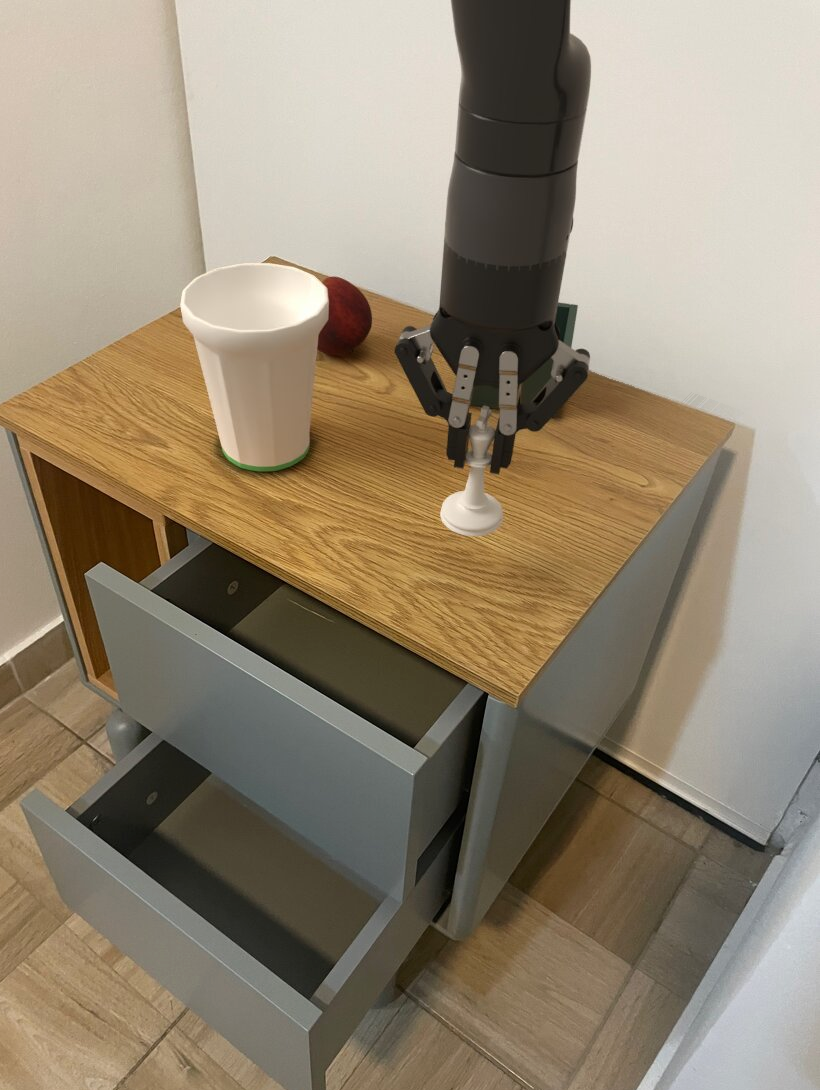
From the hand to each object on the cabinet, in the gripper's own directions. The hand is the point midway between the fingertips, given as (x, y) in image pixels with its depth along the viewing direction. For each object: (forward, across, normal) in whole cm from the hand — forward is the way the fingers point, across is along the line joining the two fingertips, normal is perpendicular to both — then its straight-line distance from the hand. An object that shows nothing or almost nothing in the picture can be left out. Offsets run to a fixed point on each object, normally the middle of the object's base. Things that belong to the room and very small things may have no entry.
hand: (478, 464), depth 65 cm
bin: (+11, 0, +29) cm, 31 cm away
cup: (+11, -21, +12) cm, 27 cm away
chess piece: (+5, 0, 0) cm, 5 cm away
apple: (+11, -20, +31) cm, 38 cm away
